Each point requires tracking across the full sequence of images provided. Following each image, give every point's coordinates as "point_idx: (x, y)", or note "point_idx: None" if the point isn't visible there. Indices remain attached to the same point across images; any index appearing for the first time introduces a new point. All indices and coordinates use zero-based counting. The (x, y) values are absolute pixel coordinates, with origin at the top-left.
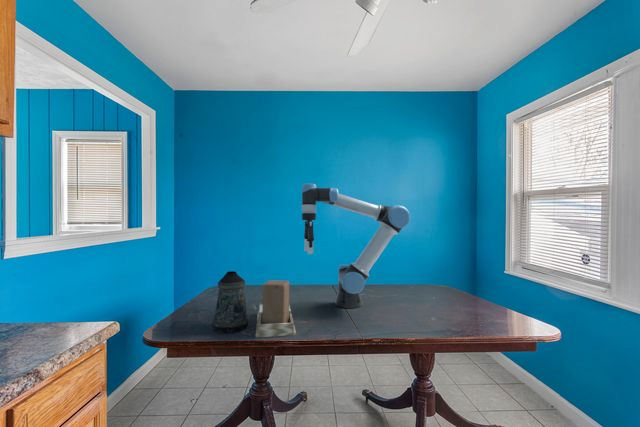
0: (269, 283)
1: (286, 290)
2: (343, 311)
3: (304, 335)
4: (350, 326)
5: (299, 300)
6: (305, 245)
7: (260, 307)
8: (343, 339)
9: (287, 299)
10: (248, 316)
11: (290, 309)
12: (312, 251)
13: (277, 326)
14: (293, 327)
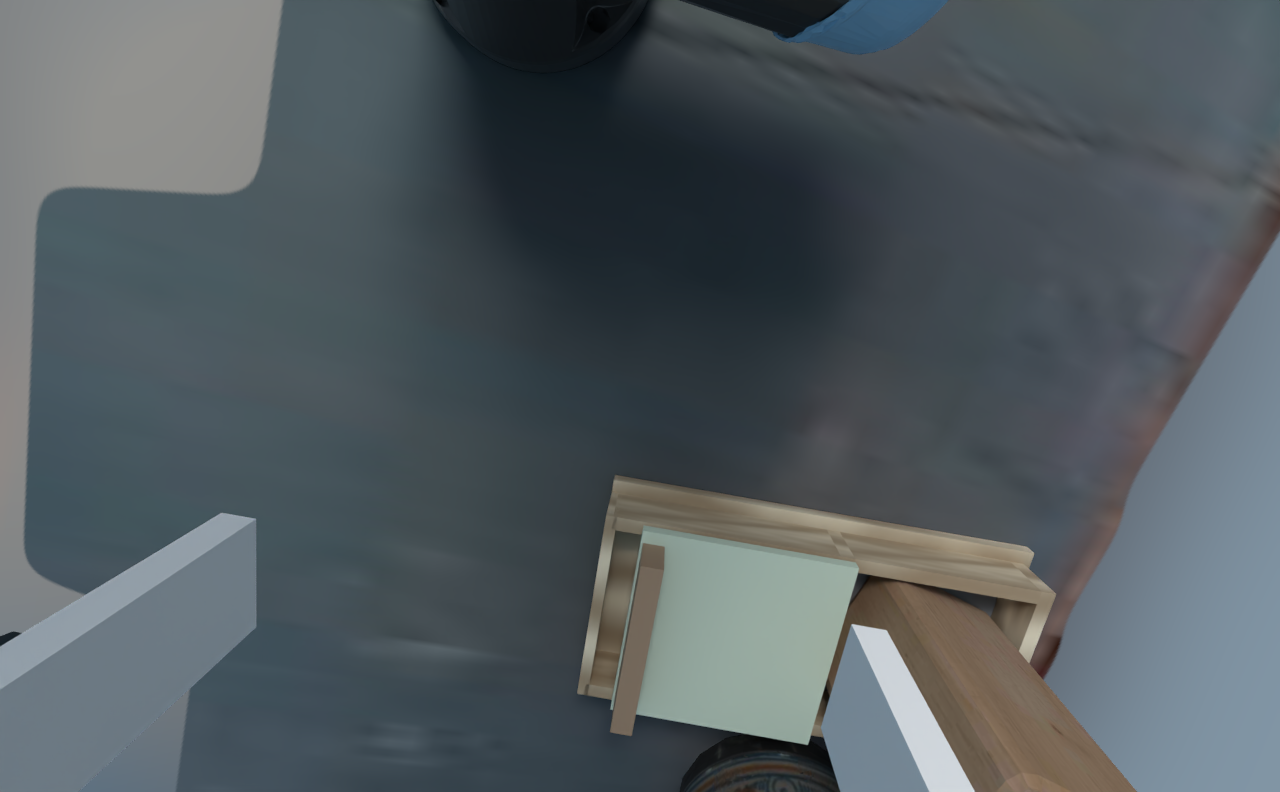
0: None
1: (1096, 777)
2: (714, 78)
3: (1050, 506)
4: (1050, 176)
5: (323, 330)
6: (137, 716)
7: (706, 721)
8: (1225, 318)
9: (1012, 693)
10: (796, 779)
11: (824, 563)
12: (905, 685)
13: None
14: (1040, 581)
